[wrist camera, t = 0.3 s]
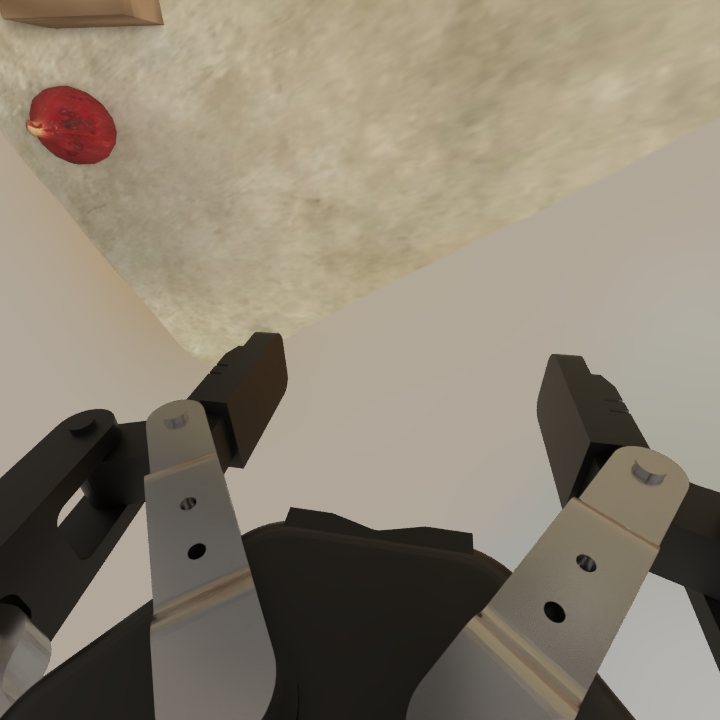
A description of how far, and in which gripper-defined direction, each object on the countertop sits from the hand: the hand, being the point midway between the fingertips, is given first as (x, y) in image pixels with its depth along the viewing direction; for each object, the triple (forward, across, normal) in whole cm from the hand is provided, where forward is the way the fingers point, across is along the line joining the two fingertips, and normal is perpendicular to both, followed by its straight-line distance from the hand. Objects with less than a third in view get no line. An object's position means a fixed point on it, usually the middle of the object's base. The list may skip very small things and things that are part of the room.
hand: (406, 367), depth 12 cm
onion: (+28, +30, -5) cm, 42 cm away
